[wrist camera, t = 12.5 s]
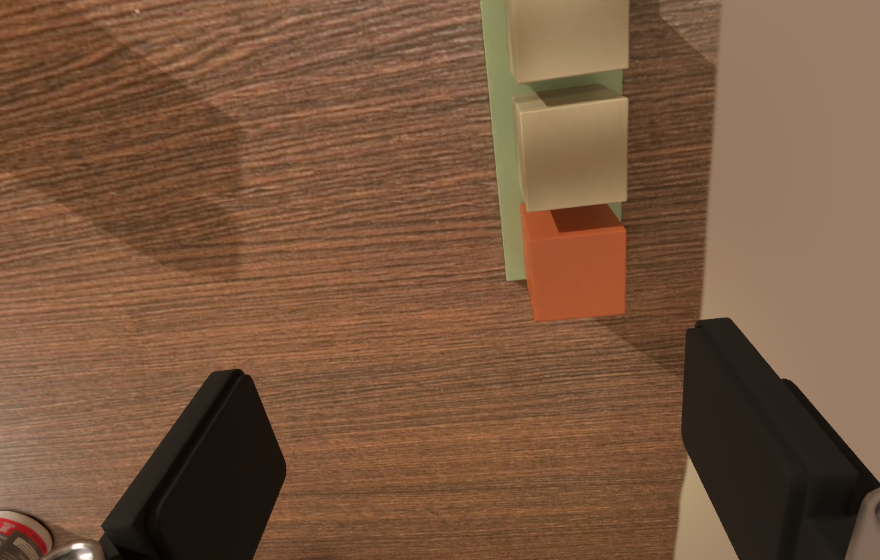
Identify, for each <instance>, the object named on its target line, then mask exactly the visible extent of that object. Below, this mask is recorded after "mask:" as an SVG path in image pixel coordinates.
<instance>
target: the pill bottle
mask: <svg viewBox="0 0 880 560" xmlns="http://www.w3.org/2000/svg"><path fill="white" fill-rule="evenodd" d="M51 547H52V539H51V536H50V534H49V532H48V531H47V530H46V529H45V528H44V527H43V526H42V525H41V524H40V523H38V522H37V521H35V520H34V519H32V518H30V517H28V516H26V515H23V514H20V513H16V512H11V511H0V560H38V559H40V558H41V557H42V556H44V555H45V554H47V553H49V552H50V550H51Z"/></svg>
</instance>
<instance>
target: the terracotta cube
mask: <svg viewBox="0 0 880 560" xmlns="http://www.w3.org/2000/svg"><path fill="white" fill-rule="evenodd" d="M520 215H521V227H522V240H523V253H524V266H525V276H526V281H527V286H528V290H529V295H530V300H531V305H532V310H533V315H534V320H535V322H541V321H552V320H563V319H574V318H585V317H596V316H607V315H618V314H625V313H626V255H627V230H626V229H625V227H624V226H623V225H622V223H621V222H620V221H619V219H618V218H617V216H616V215H615V214H614V212H613V211H612V210H611V208H610V207H609V205H608V204H599V205H590V206H581V207H573V208H564V209H555V210H546V211H537V212H527V210H526V207H525V203H523V204H520Z"/></svg>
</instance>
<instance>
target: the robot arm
mask: <svg viewBox="0 0 880 560" xmlns="http://www.w3.org/2000/svg"><path fill="white" fill-rule="evenodd" d="M681 432H682V439H683V443H684V446H685V448H686V450H687V452H688V455H689V457H690V459H691V461H692V463H693V465H694V467H695V469H696V471H697V473H698V475H699V477H700V479H701V481H702V484H703V486H704V488H705V490H706V492H707V494H708V496H709V498H710V500H711V502H712V504H713V506H714V508H715V511H716V513H717V514H718V517H719V519H720V521H721V523H722V525H723V527H724V529H725V531H726V533H727V535H728V537H729V540H730V542H731V544H732V546H733V548H734V550H735V552H736V554H737V556H738V558H739V560H880V483H879V482H878V480H877V479H876V478H875V477H874V476H873V475H872V473H871V472H870V471H869V470H868V469H867V468H866V466H865V465H864V464H863V463H862V462H861V461H860V459H859V458H858V457H857V456H856V455H855V454H854V452H853V451H852V450H851V449H850V448H849V447H848V445H847V444H846V443H845V442H844V441H843V439H842V438H841V437H840V436H839V435H838V434H837V432H836V431H835V430H834V429H833V428H832V427H831V426H830V424H829V423H828V422H827V421H826V420H825V419H824V418H823V416H822V415H821V414H820V413H819V411H818V410H817V409H816V408H815V407H814V406H813V404H812V403H811V402H810V401H809V400H808V399H807V397H806V396H805V395H804V394H803V393H802V392H801V391H800V389H799V388H798V387H797V386H796V385H795V384H794V383H793V382H792V381H790V380H788V379H780V377H779V376H778V375H777V374H776V373H775V372H774V370H773V369H772V368H771V367H770V365H769V364H768V363H767V362H766V361H765V360H764V358H763V357H762V356H761V355H760V353H759V352H758V351H757V350H756V349H755V347H754V346H753V345H752V344H751V343H750V341H749V340H748V339H747V338H746V337H745V335H744V334H743V333H742V332H741V331H740V329H739V328H738V327H737V326H736V325H735V323H734V322H733V321H732V320H731V319H730V318H716V319H707V320H698V321H697V322H696V324H695V328H690V329H688V330H687V332H686V346H685V366H684V386H683V406H682V425H681ZM285 476H286V463H285V460H284V457H283V455H282V452H281V450H280V447H279V445H278V442H277V440H276V437H275V435H274V432H273V430H272V427H271V425H270V422H269V420H268V417H267V415H266V412H265V410H264V407H263V405H262V402H261V400H260V397H259V395H258V392H257V390H256V387H255V384H254V382H253V380H252V378H251V376H249V375H245V374H244V372H243V371H242V370H240V369H233V370H223V371H215V372H212V373H211V374H210V375H209V377H208V378H207V379H206V381H205V382H204V384H203V385H202V386H201V388H200V389H199V391H198V392H197V393H196V395H195V396H194V397H193V399H192V400H191V402H190V403H189V404H188V406H187V407H186V409H185V410H184V411H183V413H182V414H181V415H180V417H179V418H178V420H177V421H176V422H175V424H174V425H173V427H172V428H171V429H170V431H169V432H168V433H167V435H166V436H165V438H164V439H163V440H162V442H161V443H160V445H159V446H158V447H157V449H156V450H155V451H154V453H153V454H152V456H151V457H150V458H149V460H148V461H147V463H146V464H145V465H144V467H143V468H142V470H141V471H140V472H139V474H138V475H137V476H136V478H135V479H134V481H133V482H132V483H131V485H130V486H129V488H128V489H127V490H126V492H125V493H124V494H123V496H122V497H121V499H120V500H119V501H118V503H117V504H116V506H115V507H114V508H113V510H112V511H111V512H110V514H109V515H108V517H107V518H106V519H105V521H104V522H103V524H102V525H101V527H102V528H103V530H104V531H105V533H104V534H103V536H102V537H101V539H100V540H99V542H97V541H95V540H93V539H79V540H75V541H71V542H68V543H66V544H64V545H61V546H59V547H57V548H55V549H53V550H52V551H50V552H49V553H47V554H45V555H44V556H42V557H41V558H40V559H38V560H252V559H253V557H254V554H255V552H256V550H257V547H258V545H259V542H260V540H261V537H262V535H263V532H264V530H265V527H266V525H267V522H268V520H269V517H270V515H271V512H272V510H273V507H274V505H275V502H276V500H277V497H278V495H279V492H280V490H281V487H282V485H283V482H284V480H285Z"/></svg>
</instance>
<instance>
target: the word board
mask: <svg viewBox="0 0 880 560" xmlns="http://www.w3.org/2000/svg"><path fill="white" fill-rule="evenodd" d="M480 6H481V16H482V27H483V37H484V48H485V58H486V69H487V79H488V90H489V100H490V111H491V121H492V132H493V142H494V153H495V163H496V174H497V184H498V195H499V205H500V216H501V226H502V237H503V247H504V258H505V268H506V278H507V281H513V280H523V279H526V276H525V266H524V253H523V240H522V227H521V215H520V204H523V203H525V207H526V210H527V212H537V211H546V210H555V209H564V208H573V207H581V206H590V205H599V204H608V205H609V207H610V208H611V210H612V211H613V212H614V214H615V215H616V216H617V218H618V219H619V221H620V222H621V202H625V201H627V184H628V109H629V99H628V98H627V97H625V96H623V95H622V70H623V69H628V68H629V35H630V0H480Z"/></svg>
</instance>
